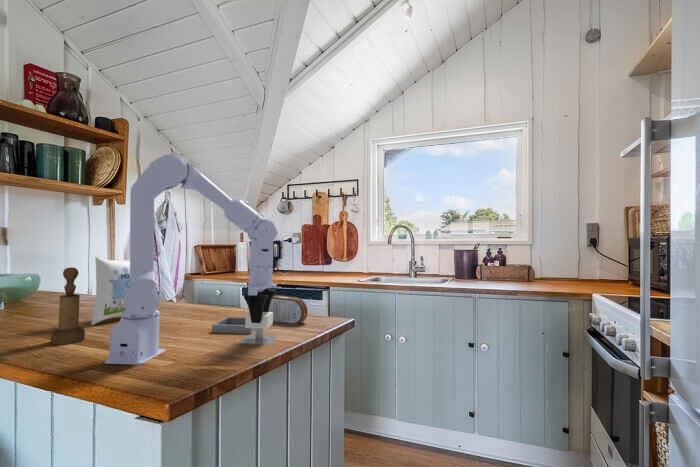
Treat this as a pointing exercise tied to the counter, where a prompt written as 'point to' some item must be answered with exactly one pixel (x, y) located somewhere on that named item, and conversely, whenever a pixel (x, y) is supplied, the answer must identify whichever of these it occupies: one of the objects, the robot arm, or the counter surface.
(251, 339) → the grey plate with post
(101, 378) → the counter surface
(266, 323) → the ring
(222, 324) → the tray
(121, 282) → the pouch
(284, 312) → the tin
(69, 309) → the brown tall wooden piece
